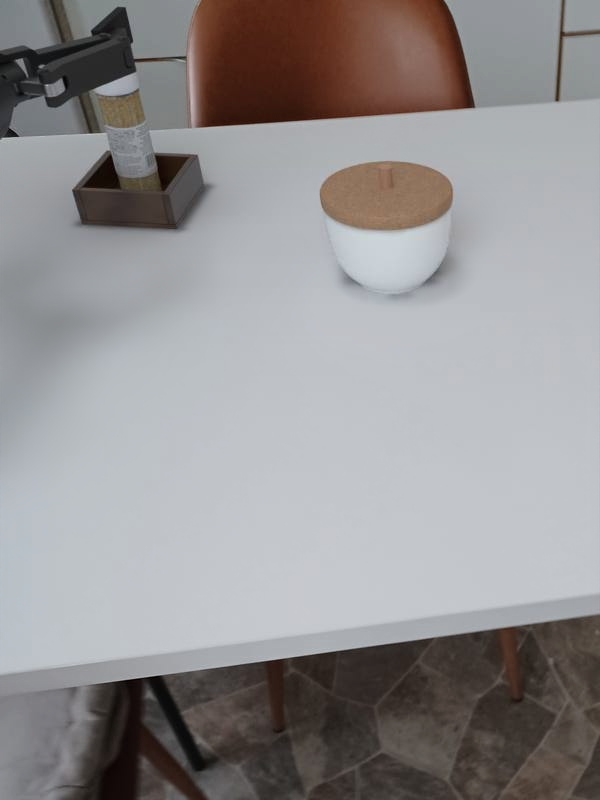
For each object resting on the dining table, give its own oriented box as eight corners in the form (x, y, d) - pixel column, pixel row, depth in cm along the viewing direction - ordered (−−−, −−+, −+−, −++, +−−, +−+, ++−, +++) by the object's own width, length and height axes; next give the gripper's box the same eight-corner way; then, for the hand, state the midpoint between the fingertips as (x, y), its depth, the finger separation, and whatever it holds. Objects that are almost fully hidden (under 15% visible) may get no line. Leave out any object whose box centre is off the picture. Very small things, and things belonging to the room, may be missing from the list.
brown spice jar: (140, 189, 109) (107, 57, 99) (173, 196, 108) (143, 63, 98) (115, 205, 106) (78, 71, 96) (148, 213, 105) (115, 78, 95)
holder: (82, 227, 105) (71, 190, 102) (116, 185, 112) (106, 150, 109) (177, 232, 104) (169, 194, 101) (205, 190, 111) (198, 154, 108)
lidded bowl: (309, 298, 95) (294, 184, 87) (357, 242, 103) (348, 132, 95) (430, 319, 92) (426, 204, 84) (469, 259, 100) (469, 149, 92)
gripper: (88, 62, 68) (178, -23, 82) (-247, 46, 70) (-102, -35, 84) (117, 171, 74) (196, 74, 88) (-194, 154, 75) (-67, 61, 89)
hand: (51, 20), depth 86 cm, fingers open, 13 cm apart
